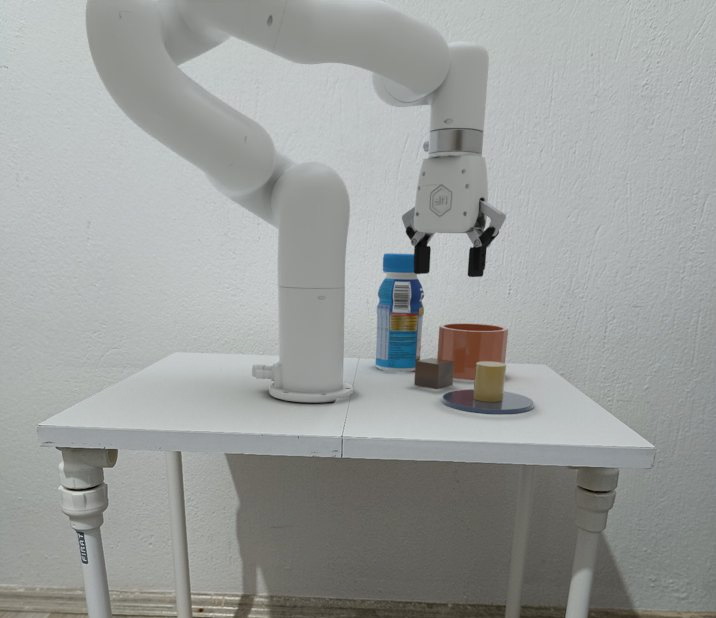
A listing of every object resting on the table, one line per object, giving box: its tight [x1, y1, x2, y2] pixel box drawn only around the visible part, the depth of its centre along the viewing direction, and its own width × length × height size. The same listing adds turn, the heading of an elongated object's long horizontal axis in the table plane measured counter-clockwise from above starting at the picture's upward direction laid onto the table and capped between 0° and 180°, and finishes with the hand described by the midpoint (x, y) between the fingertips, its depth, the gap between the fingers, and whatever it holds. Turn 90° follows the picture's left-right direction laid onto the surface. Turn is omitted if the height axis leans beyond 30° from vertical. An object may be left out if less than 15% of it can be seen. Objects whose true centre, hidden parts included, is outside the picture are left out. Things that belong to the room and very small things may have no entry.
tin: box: [436, 322, 509, 381], centre depth 115 cm, size 12×12×8 cm
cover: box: [441, 361, 535, 415], centre depth 94 cm, size 13×13×6 cm
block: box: [413, 357, 454, 390], centre depth 105 cm, size 4×4×4 cm
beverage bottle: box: [375, 252, 425, 373], centre depth 118 cm, size 8×8×20 cm
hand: (447, 275), depth 99 cm, fingers open, 9 cm apart
